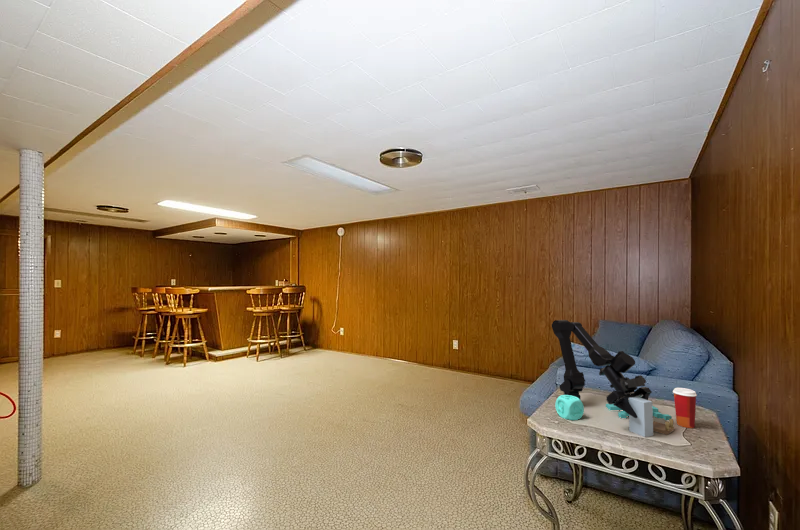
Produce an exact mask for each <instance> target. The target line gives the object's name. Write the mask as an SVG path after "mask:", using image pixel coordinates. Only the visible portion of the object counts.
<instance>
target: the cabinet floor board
mask: <svg viewBox="0 0 800 530" xmlns="http://www.w3.org/2000/svg"><path fill="white" fill-rule="evenodd" d="M664 421H665V422H664V423H662V422H659V421H654V420H653V432H656V433H659V434H664V435H669V434H670V433H672V432H673V431H674V430H675V426H674V419H673V418H672V419H669V421H667V420H664Z"/></svg>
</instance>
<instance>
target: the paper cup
mask: <svg viewBox="0 0 800 530" xmlns="http://www.w3.org/2000/svg"><path fill="white" fill-rule="evenodd" d="M672 393H673V399H674V401H673V402H674V410H675V419H676V424H677V425H678V427H682V428H685V429H695V424H696V409H697V408H696V405H697V404H696V403H697V396H698V395H697V393H696V391H694V390H693V389H691V388H684V387H675V388H674V389H673V390H672Z"/></svg>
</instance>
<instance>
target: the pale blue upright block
mask: <svg viewBox="0 0 800 530" xmlns="http://www.w3.org/2000/svg"><path fill="white" fill-rule="evenodd" d="M628 400H629V404H630V405H631V407H632V408H633V410H634V411H635V413H636V415H637V418H634V417H632V416H631V415H629V417H628V422H629V423H628V425H629V427H628V428H629V429H628V430H629V432H631V433H633V434H636V435H638V436H641V437H644V438H648V437H653V436H654V431H653V421H654V418H653V417H654V416H653V406H654V404H653V401H651V400H649V399H648V400H646V399H643V398H640V397H631V398H628Z"/></svg>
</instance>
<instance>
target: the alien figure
mask: <svg viewBox="0 0 800 530" xmlns="http://www.w3.org/2000/svg"><path fill="white" fill-rule="evenodd" d="M606 407H607V408H608V409H607V408H606ZM605 408H606V409H607V410H609V409H610V410H622V409H620V408H618V407H617V406H614V405H613V404H610V405H609V403H605ZM610 410H609V411H610ZM618 416H619V417H618ZM626 416H629V414H628V413H626V412H625V411H617V417H618V418H620V417H621V418H620V419H622V418H626V419H627V417H626ZM654 416H655V418H656V417H657V418H656V419H663V418H664V419H665V420H664V419H663V420H664V421H667V420H669V419H673V418H672V417H673V416H671V415H670V414H667V413H666V414H665V413H664V414H663V413H661V412H660V411H659V408H658V407H656V406H654V405H653V417H654Z"/></svg>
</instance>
